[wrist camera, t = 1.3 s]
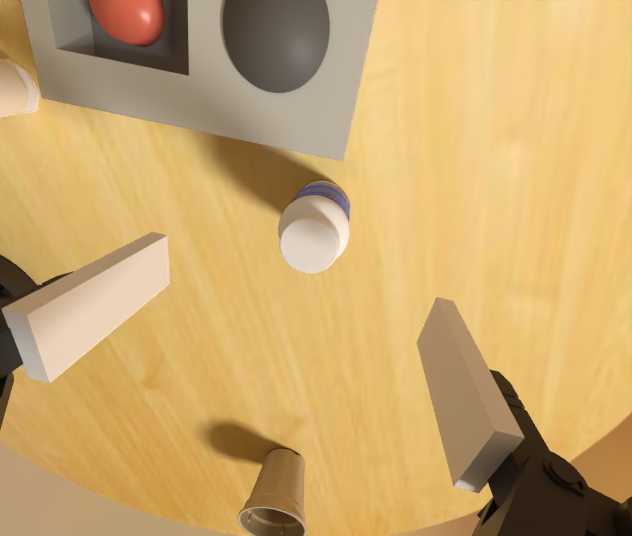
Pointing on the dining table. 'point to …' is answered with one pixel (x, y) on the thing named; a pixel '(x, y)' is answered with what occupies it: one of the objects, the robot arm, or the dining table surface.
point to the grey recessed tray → (216, 67)
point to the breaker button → (131, 20)
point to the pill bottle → (315, 227)
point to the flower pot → (277, 498)
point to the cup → (17, 90)
